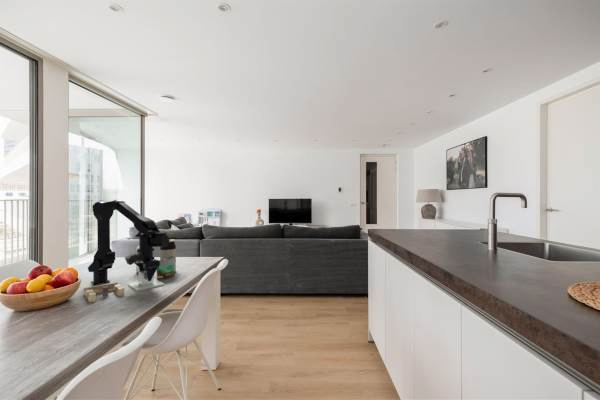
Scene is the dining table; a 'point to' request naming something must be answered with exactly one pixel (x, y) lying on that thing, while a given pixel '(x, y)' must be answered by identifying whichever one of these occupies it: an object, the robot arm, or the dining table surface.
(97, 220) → the robot arm
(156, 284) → the board
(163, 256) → the travel mug
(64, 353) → the dining table surface
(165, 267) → the food container
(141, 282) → the steel collar
